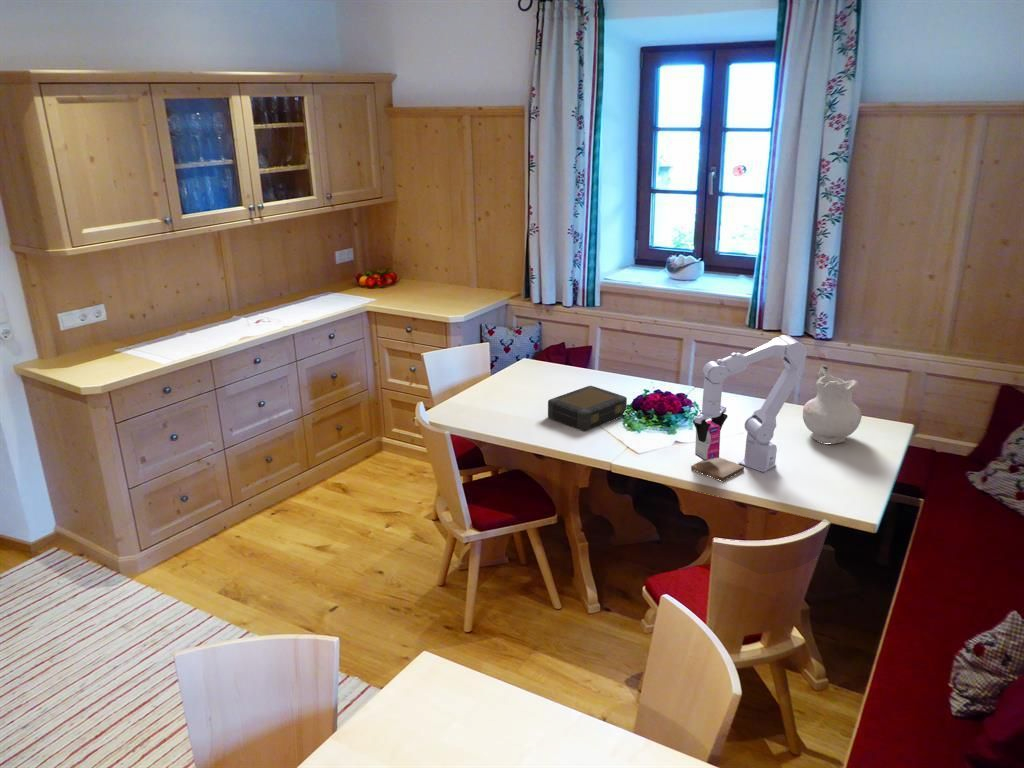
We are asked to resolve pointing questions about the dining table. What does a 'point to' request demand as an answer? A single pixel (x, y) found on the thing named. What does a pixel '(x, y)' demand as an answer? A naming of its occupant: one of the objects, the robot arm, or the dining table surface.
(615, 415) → the cash box
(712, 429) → the supplement box
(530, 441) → the dining table surface
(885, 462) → the dining table surface
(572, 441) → the dining table surface
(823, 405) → the ceramic pitcher
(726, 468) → the cardboard square
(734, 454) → the dining table surface
